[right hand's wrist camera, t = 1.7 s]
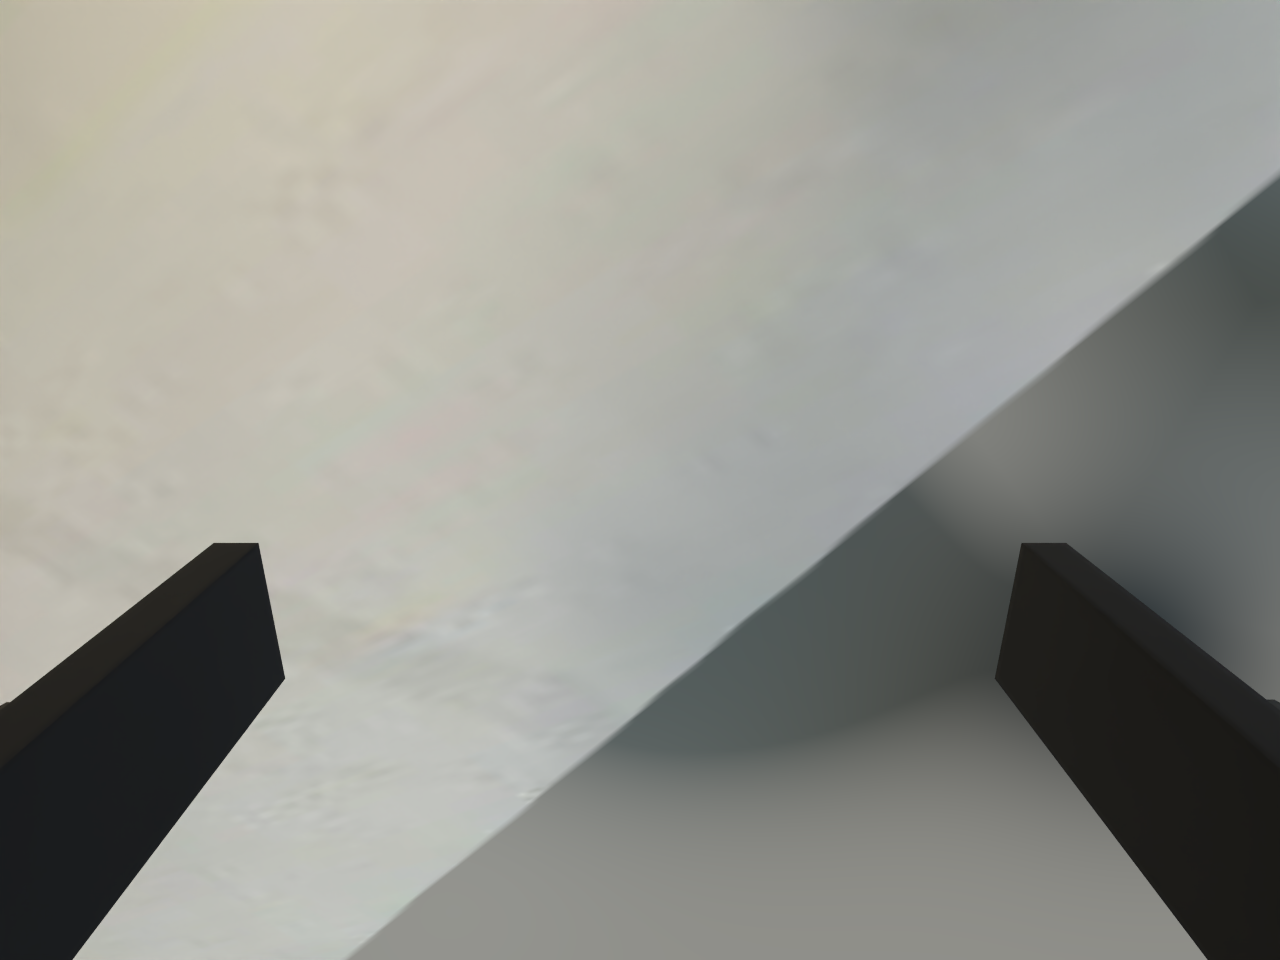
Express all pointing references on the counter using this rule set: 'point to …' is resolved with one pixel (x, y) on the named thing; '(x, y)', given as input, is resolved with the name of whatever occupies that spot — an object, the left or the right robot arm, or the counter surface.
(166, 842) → the counter surface
